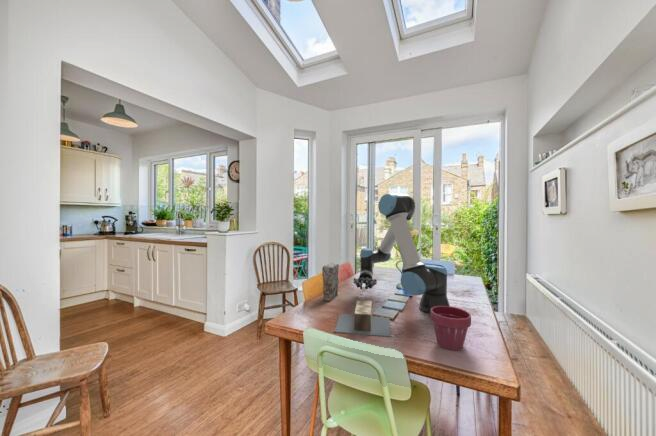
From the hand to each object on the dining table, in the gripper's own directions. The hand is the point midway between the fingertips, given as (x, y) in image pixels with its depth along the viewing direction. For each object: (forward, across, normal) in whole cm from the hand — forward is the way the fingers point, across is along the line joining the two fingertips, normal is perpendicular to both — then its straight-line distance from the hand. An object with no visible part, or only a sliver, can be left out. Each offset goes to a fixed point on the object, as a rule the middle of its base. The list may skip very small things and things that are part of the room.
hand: (363, 289), depth 132 cm
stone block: (-24, +21, -13) cm, 34 cm away
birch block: (0, 0, -9) cm, 9 cm away
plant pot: (+22, -35, -13) cm, 43 cm away
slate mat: (+11, 0, -13) cm, 17 cm away
